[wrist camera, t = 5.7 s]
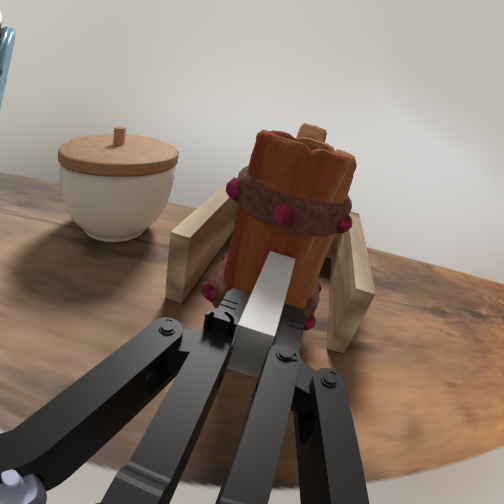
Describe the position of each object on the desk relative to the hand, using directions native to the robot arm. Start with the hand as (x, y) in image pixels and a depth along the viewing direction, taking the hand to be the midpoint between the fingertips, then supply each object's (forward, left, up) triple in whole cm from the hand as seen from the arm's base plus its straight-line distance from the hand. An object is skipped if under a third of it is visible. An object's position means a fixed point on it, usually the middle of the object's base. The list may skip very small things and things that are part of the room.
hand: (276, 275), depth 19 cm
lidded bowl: (-19, +11, -7) cm, 23 cm away
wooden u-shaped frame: (-1, +11, -7) cm, 13 cm away
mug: (-1, +6, -7) cm, 10 cm away
